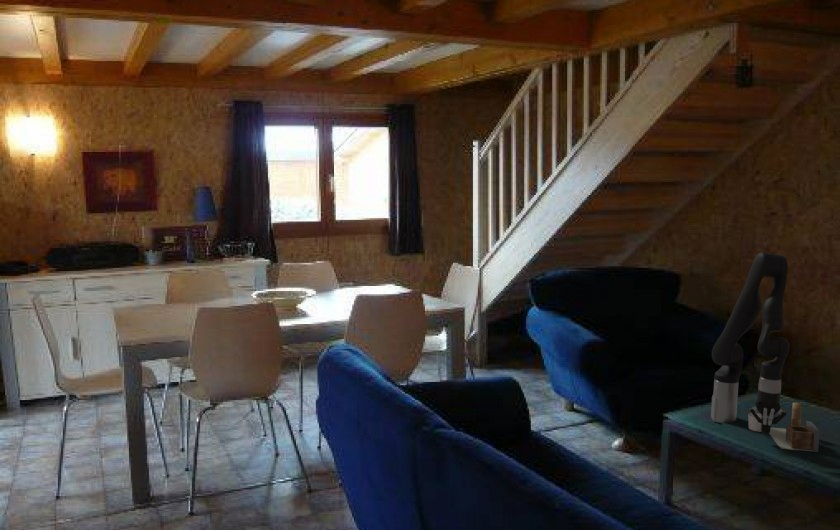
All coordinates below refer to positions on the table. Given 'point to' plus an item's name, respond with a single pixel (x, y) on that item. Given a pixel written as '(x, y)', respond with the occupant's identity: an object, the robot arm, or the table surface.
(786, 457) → the table surface
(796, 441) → the wooden open box
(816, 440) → the wall
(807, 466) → the table surface
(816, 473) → the table surface
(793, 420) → the dowel
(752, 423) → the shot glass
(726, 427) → the table surface
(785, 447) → the board
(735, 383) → the robot arm
